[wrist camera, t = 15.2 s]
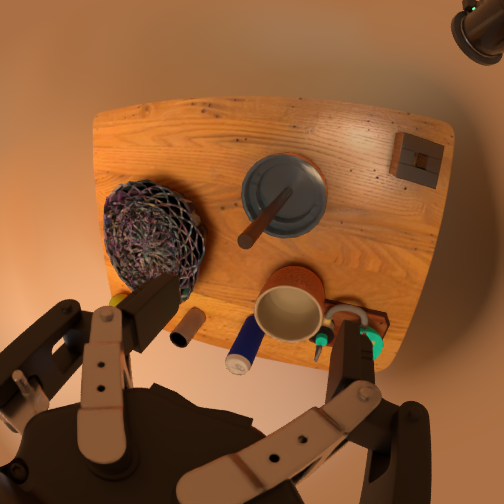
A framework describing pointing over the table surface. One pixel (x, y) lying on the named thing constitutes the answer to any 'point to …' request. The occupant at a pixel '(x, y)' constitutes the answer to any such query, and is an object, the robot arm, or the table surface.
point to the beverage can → (245, 347)
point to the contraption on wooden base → (336, 312)
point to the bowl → (274, 182)
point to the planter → (291, 305)
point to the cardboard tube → (187, 328)
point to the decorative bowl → (153, 235)
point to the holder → (426, 162)
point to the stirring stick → (263, 220)
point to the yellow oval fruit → (117, 299)
